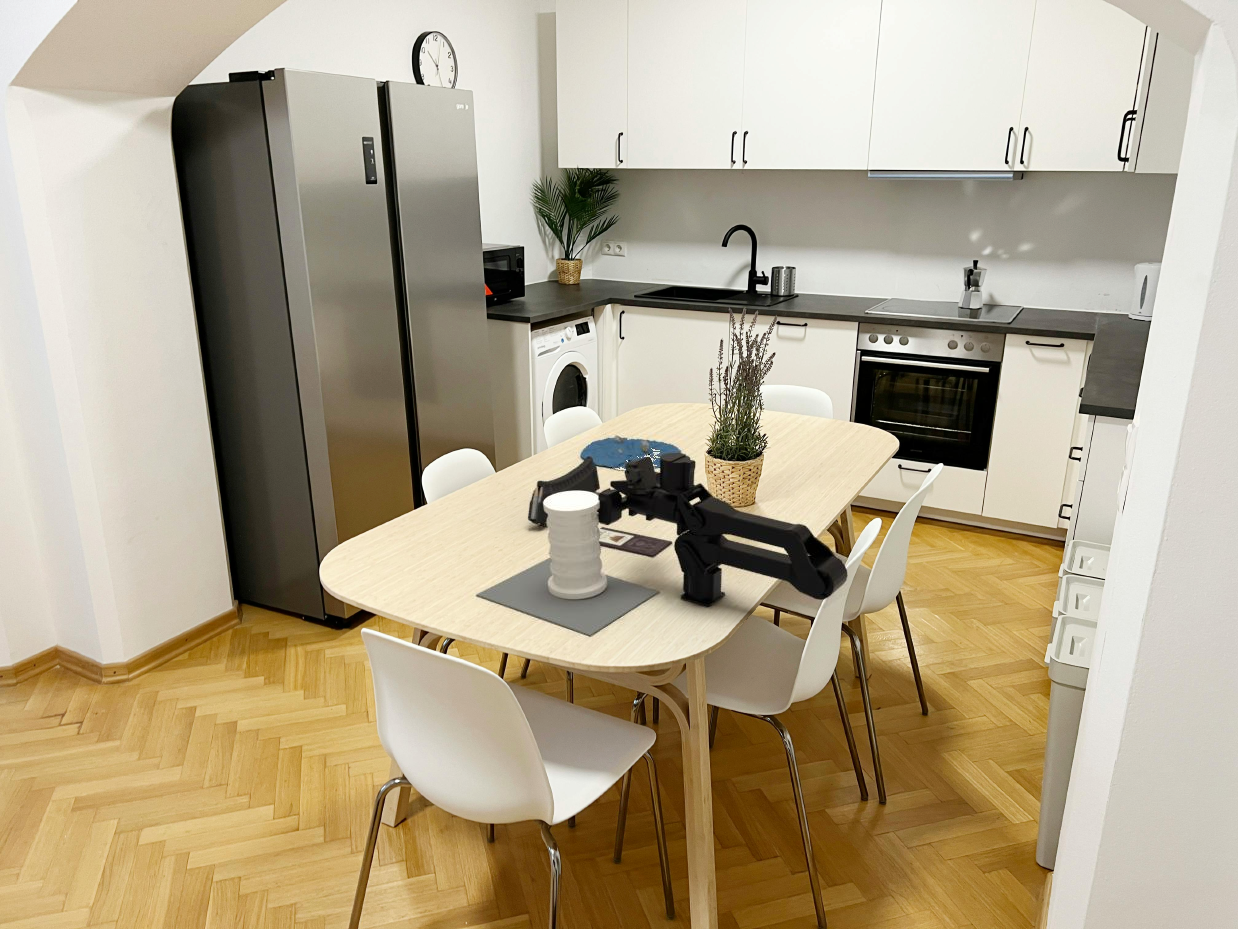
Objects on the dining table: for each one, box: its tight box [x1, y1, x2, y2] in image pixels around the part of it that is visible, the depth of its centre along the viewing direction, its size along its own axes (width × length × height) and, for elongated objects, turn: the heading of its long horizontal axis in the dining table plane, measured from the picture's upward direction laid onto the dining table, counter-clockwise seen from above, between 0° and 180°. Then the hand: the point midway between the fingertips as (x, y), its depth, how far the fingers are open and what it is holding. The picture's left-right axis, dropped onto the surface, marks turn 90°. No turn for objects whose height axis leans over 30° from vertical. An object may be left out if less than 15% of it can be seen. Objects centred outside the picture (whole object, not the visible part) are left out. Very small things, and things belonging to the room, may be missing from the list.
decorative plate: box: [580, 435, 682, 469], centre depth 263 cm, size 30×30×5 cm
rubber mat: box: [475, 557, 660, 637], centre depth 173 cm, size 28×22×1 cm
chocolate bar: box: [599, 526, 673, 558], centre depth 198 cm, size 9×1×18 cm
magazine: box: [527, 456, 601, 528], centre depth 217 cm, size 17×3×30 cm
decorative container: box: [543, 491, 607, 599], centre depth 173 cm, size 12×12×18 cm
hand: (597, 488), depth 181 cm, fingers open, 8 cm apart
